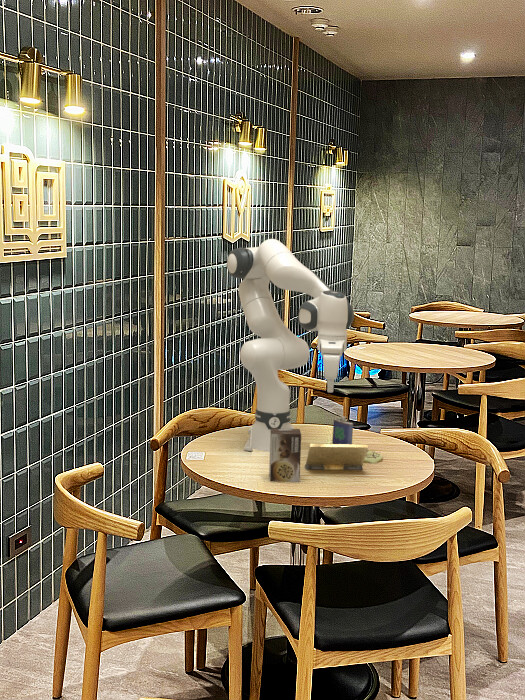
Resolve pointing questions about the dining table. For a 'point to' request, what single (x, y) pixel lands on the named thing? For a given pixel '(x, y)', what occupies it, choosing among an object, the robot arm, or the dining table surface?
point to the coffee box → (285, 455)
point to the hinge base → (321, 467)
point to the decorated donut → (372, 457)
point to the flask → (342, 431)
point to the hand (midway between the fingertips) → (330, 389)
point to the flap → (336, 455)
